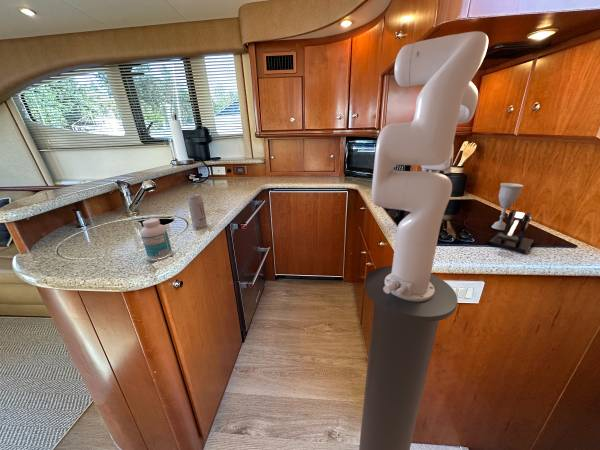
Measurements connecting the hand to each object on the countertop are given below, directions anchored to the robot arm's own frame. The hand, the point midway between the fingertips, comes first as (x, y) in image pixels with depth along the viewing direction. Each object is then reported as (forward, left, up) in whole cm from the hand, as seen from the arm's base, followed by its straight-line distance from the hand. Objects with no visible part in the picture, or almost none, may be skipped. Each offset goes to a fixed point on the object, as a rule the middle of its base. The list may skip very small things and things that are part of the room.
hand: (432, 186), depth 97 cm
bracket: (+2, -28, -17) cm, 33 cm away
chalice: (+18, -21, -17) cm, 33 cm away
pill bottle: (-96, +47, -17) cm, 108 cm away
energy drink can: (-76, +68, -17) cm, 103 cm away
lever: (-1, -28, -10) cm, 30 cm away
